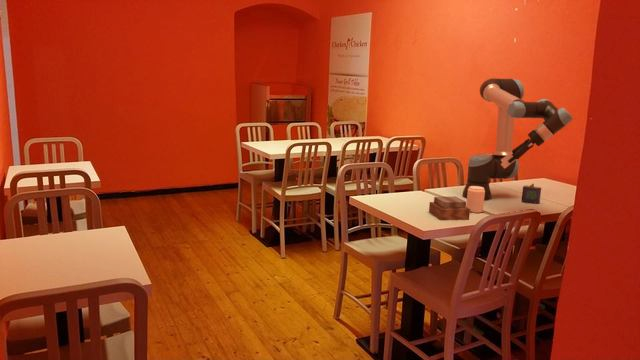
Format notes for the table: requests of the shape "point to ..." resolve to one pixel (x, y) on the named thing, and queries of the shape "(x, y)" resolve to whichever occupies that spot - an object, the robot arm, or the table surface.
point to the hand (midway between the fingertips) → (502, 164)
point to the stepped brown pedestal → (449, 208)
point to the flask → (531, 194)
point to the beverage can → (475, 199)
